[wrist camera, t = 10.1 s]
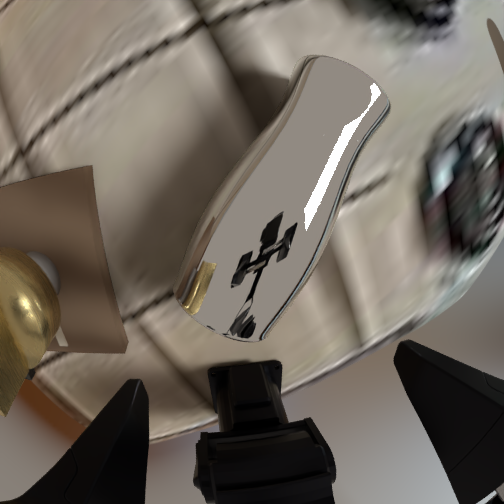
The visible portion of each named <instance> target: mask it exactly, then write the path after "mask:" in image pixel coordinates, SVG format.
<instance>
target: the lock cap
mask: <svg viewBox="0 0 504 504" xmlns="http://www.w3.org/2000/svg"><path fill="white" fill-rule="evenodd" d="M60 323H61V309H60V304H59V300H58V297H57V294H56V291H55V289H54V287H53V285H52V283H51V281H50V280H49V278H48V277H47V275H46V274H45V272H44V271H43V270H42V268H41V267H40V266H39V265H38V264H37V263H36V262H35V261H34V260H33V259H32V258H31V257H29V256H28V255H27V254H25V253H23V252H22V251H20V250H17V249H15V248H11V247H2V248H0V415H2V416H5V417H6V415H7V414H8V411H9V409H10V407H11V405H12V403H13V401H14V399H15V397H16V395H17V393H18V391H19V389H20V387H21V385H22V383H23V381H24V379H28V380H32V378H33V377H34V375H35V373H36V372H35V370H34V367H35V366H37V365H38V363H39V362H40V361H41V359H42V357H43V355H44V353H45V352H46V350H47V348H48V347H49V345H50V343H51V342H52V340H53V338H54V337H55V335H56V333H57V331H58V329H59V327H60Z"/></svg>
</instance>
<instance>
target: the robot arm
mask: <svg viewBox="0 0 504 504" xmlns="http://www.w3.org/2000/svg"><path fill="white" fill-rule="evenodd" d="M394 365H395V367H396V370H397V372H398V374H399V376H400V379H401V381H402V384H403V386H404V389H405V391H406V393H407V395H408V397H409V400H410V401H411V403H412V405H413V407H414V409H415V411H416V413H417V414H418V416H419V418H420V420H421V422H422V424H423V426H424V428H425V430H426V432H427V434H428V436H429V438H430V440H431V442H432V444H433V446H434V448H435V450H436V453H437V455H438V457H439V459H440V461H441V463H442V465H443V468H444V470H445V472H446V474H447V476H448V479H449V481H450V483H451V486H452V488H453V490H454V493H455V495H456V497H457V500H458V502H459V504H476V503H478V502H479V501H481V500H482V499H483V498H485V497H486V496H488V495H489V494H490V493H491V492H493V491H494V490H495V491H496V493H497V494H496V495H495V496H493V498H491V499H490V500H489V501H488V502H487V503H486V504H504V380H502V379H499V378H497V377H494V376H492V375H489V374H487V373H485V372H482V371H480V370H478V369H475V368H473V367H471V366H468V365H466V364H464V363H462V362H459V361H457V360H455V359H453V358H450V357H448V356H446V355H443V354H441V353H439V352H437V351H434V350H432V349H430V348H428V347H425V346H423V345H421V344H419V343H416V342H414V341H412V340H409V339H408V340H404V341H401V342H400V343H399V345H398V347H397V350H396V353H395V356H394ZM275 366H277V367H275ZM212 373H215V374H212ZM208 378H209V383H210V389H211V394H212V399H213V404H214V409H215V413H217V414H218V421H219V430H220V432H214V433H208V432H201V436H200V438H201V439H200V440H198V443H196V465H195V471H194V478H193V483H194V486H195V487H197V488H198V489H200V490H201V492H202V495H203V496H204V497H205V500H206V503H207V504H335V502H334V497H333V491H332V483H334V482H335V480H336V465H335V461H334V457H333V454H332V452H331V449H330V447H329V446H328V444H327V443H326V441H325V439H324V438H323V436H322V435H321V433H320V431H319V430H318V428H317V427H316V425H315V423H314V422H313V420H312V419H311V418H310V417H309V418H305V419H304V420H300V421H295V422H290V423H289V422H288V419H287V415H286V412H285V409H284V406H283V403H282V400H281V396H280V395H281V381H282V364H281V362H280V361H271V362H264V363H256V364H247V365H239V366H229V367H218V368H211V369H209V370H208ZM148 449H149V399H148V395H147V392H146V390H145V387H144V384H143V382H142V380H141V379H129V380H127V381H126V383H125V384H124V385H123V386H122V387H121V388H120V390H119V391H118V392H117V393H116V394H115V395H114V397H113V398H112V399H111V400H110V401H109V402H108V404H107V405H106V406H105V407H104V408H103V409H102V411H101V412H100V413H99V414H98V415H97V416H96V418H95V419H94V420H93V421H92V422H91V423H90V425H89V426H88V427H87V428H86V429H85V431H84V432H83V433H82V434H81V435H80V437H79V438H78V439H77V440H76V441H75V442H74V444H73V445H72V446H71V448H69V449H68V451H67V452H66V453H65V454H64V455H63V456H62V458H61V459H60V460H59V461H58V462H57V463H56V464H55V465H54V466H53V467H52V468H51V469H50V470H49V471H48V472H47V473H46V474H45V475H44V476H43V477H42V478H41V479H40V480H39V481H37V482H36V483H35V484H34V485H33V486H32V487H31V488H30V489H29V490H28V491H26V492H25V493H24V494H23V495H21V496H20V497H18V498H16V499H13V500H9V501H2V502H0V504H145V488H146V473H147V459H148Z"/></svg>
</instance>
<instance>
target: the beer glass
mask: <svg viewBox="0 0 504 504" xmlns="http://www.w3.org/2000/svg"><path fill="white" fill-rule="evenodd" d="M390 112H391V103H390V100H389V98H388V96H387V94H386V93H385V91H384V90H383V89H382V88H381V86H380V85H379V84H378V83H377V82H376V81H375V80H373V79H372V78H371V77H370V76H369V75H367V74H366V73H364V72H363V71H361V70H360V69H358V68H356V67H355V66H353V65H351V64H349V63H347V62H344V61H342V60H339V59H336V58H333V57H329V56H324V55H307V56H303V57H301V58H300V59H299V60H298V61H297V62H296V64H295V66H294V68H293V71H292V74H291V76H290V79H289V82H288V85H287V88H286V91H285V93H284V96H283V98H282V100H281V102H280V104H279V106H278V108H277V110H276V112H275V113H274V115H273V116H272V118H271V119H270V121H269V122H268V124H267V125H266V126H265V128H264V129H263V130H262V132H261V133H260V134H259V135H258V137H257V138H256V139H255V141H254V142H253V143H252V144H251V145H250V147H249V148H248V149H247V150H246V152H245V153H244V154H243V155H242V157H241V158H240V159H239V160H238V162H237V163H236V164H235V166H234V167H233V168H232V170H231V171H230V172H229V173H228V175H227V176H226V177H225V179H224V180H223V182H222V183H221V185H220V186H219V188H218V189H217V191H216V192H215V194H214V195H213V197H212V198H211V200H210V201H209V203H208V205H207V207H206V209H205V211H204V213H203V214H202V216H201V218H200V220H199V222H198V224H197V227H196V229H195V231H194V233H193V236H192V238H191V240H190V243H189V245H188V248H187V251H186V253H185V256H184V259H183V261H182V264H181V267H180V270H179V273H178V276H177V278H176V280H175V282H174V285H173V291H174V295H175V298H176V299H177V301H178V303H179V304H180V306H181V307H182V308H183V309H184V310H185V311H186V312H187V313H188V314H189V315H190V316H191V317H192V318H193V319H194V320H196V321H197V322H198V323H200V324H201V325H203V326H204V327H206V328H208V329H209V330H211V331H213V332H215V333H217V334H219V335H222V336H224V337H227V338H230V339H233V340H237V341H243V342H258V341H262V340H264V339H266V338H267V337H268V336H269V334H270V332H271V331H272V330H273V328H274V327H275V326H276V324H277V323H278V322H279V321H280V319H281V318H282V317H283V316H284V314H285V313H286V312H287V310H288V309H289V308H290V306H291V305H292V304H293V302H294V301H295V300H296V298H297V297H298V295H299V294H300V292H301V291H302V289H303V288H304V286H305V285H306V283H307V282H308V280H309V279H310V277H311V275H312V273H313V271H314V270H315V268H316V266H317V264H318V263H319V261H320V259H321V257H322V254H323V252H324V250H325V248H326V245H327V243H328V241H329V238H330V236H331V233H332V231H333V228H334V225H335V222H336V220H337V217H338V214H339V211H340V208H341V205H342V202H343V200H344V197H345V194H346V191H347V188H348V185H349V182H350V179H351V177H352V174H353V171H354V169H355V167H356V164H357V162H358V160H359V158H360V156H361V154H362V152H363V151H364V149H365V147H366V146H367V144H368V143H369V141H370V140H371V138H372V137H373V136H374V135H375V133H376V132H377V131H378V129H379V128H380V127H381V126H382V124H383V123H384V122H385V120H386V119H387V118H388V116H389V114H390Z"/></svg>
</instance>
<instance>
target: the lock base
mask: <svg viewBox="0 0 504 504" xmlns="http://www.w3.org/2000/svg"><path fill="white" fill-rule="evenodd" d="M2 247H11V248H15V249H17V250H20V251H22V252H23V253H25V254H27V255H28V256H29V257H31V258H32V259H33V260H34V261H35V262H36V263H37V264H38V265H39V266H40V267H41V268H42V270H43V271H44V272H45V274H46V275H47V277H48V278H49V280H50V281H51V283H52V285H53V287H54V289H55V291H56V294H57V297H58V300H59V304H60V309H61V323H60V327H59V329H58V331H57V333H56V335H55V337H54V338H53V340H52V342H51V343H50V345H49V347H48V348H47V350H46V351H58V352H77V353H125V352H126V348H127V345H128V339H127V336H126V332H125V329H124V326H123V323H122V319H121V316H120V312H119V309H118V305H117V302H116V298H115V294H114V290H113V286H112V282H111V278H110V274H109V269H108V265H107V260H106V256H105V251H104V246H103V240H102V235H101V229H100V223H99V217H98V211H97V204H96V196H95V188H94V179H93V169H92V165H91V166H86V167H80V168H75V169H70V170H66V171H61V172H56V173H52V174H48V175H44V176H39V177H35V178H31V179H28V180H24V181H20V182H17V183H13V184H9V185H6V186H3V187H0V248H2Z"/></svg>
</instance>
